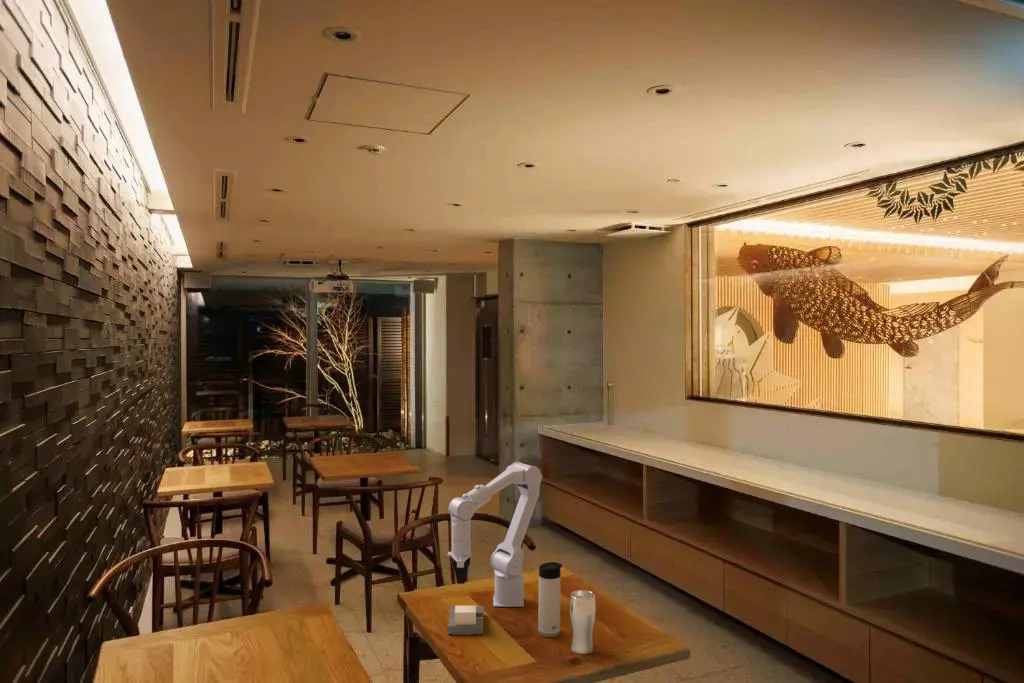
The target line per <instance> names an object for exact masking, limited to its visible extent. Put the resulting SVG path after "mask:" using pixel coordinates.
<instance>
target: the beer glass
mask: <svg viewBox="0 0 1024 683" xmlns="http://www.w3.org/2000/svg"><path fill="white" fill-rule="evenodd" d="M596 608H597V607H596V594H595V593H594V592H593V591H589V590H584V589H582V590H581V589H578V590H574V591H572V592H571V593H570V601H569V615H570V616H569V618H570V624H571V632H572V640H571V645H570V650H571V651H572V652H573V653H575V654H579V655H588V653H589V654H591V653H592V652H593V651H594V644H593V632H594V627H595V626H594V625H595V619H596V611H597V610H596Z"/></svg>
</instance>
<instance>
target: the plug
mask: <svg viewBox="0 0 1024 683" xmlns="http://www.w3.org/2000/svg"><path fill="white" fill-rule="evenodd" d="M454 606H455V625H470V624H476V617H483V613H476V606H477V605H454Z"/></svg>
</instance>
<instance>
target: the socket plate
mask: <svg viewBox="0 0 1024 683" xmlns="http://www.w3.org/2000/svg"><path fill="white" fill-rule="evenodd" d="M455 606H456V605H450V608H449V617H448V624H447V635H448V636H450V635H449V634H453V635H452V636H472V635H471V634H483V635H484V620H483V619H484V614H485V612H484V610H485V608H484V605H475V606H476V613H483V617H476V624H470V625H455Z"/></svg>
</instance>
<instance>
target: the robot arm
mask: <svg viewBox="0 0 1024 683" xmlns="http://www.w3.org/2000/svg"><path fill="white" fill-rule="evenodd" d="M542 480H543V475H542V472H541V470H540V468H538V466H534V465H530V464H525V463H522V462H520V461H515V462H513V463H511V465H508V466H507V467H506V469H505V470H503V472H501V473H500V474H499V475H498V476H496V477H495V478H494V479H492V480H491V481H489V483H487V484H486V485H484V484H476V485H475V486H474V487H473V489H471V490H470V491H468V492H467V493H463V494H462V496H461V497H457V496H456V497H455V498H453V499H452V500H451V501H450V502H449V505H448V507H447V513H448V514H449V515H450V520H451V551H448V552H447V556H448V557H451V562H450V564H451V565H452V568H453V570H454V572H455V573H454V574H455V579H456V584H457V585H459V584H460V585H461V584H462V585H464V584H465V583H466V579H467V578H466V577H467V572H468V569H469V567H470V565H471V556H472V552H471V540H472V539H471V519H472V518H473V516H474V515H475V512H476V511H477V510H479V508H481V507H483V506H484V505H486V504H487V503H488V502H490V501H491V500H492V499H491V498H492V495H494V494H496V493H498V492H500V491H501V490H503V489H504V488H506V487H508V486H509V485H511V484H514V485H515V486H516V487H517V488H518V490H519V493H520V496H519V499H518V502H517V505H516V508H515V511H514V513H513V516H512V519H511V522H510V524H509V528H508V529H507V533H506V535H505V538H504V541H502V542H501V543H499V544H497V546H496V549H495V550H494V552H493V553H492V554H491V557H490V562H489V563H490V566H491V567H492V569H493V573H494V595H493V596H492V598H493V599H492V600H493V601H492V602H493V603H492V604H493V606H492V607H494V608H500V607H501V608H502V607H503V608H504V607H505V608H511V607H515V608H517V607H519V608H520V607H524V606H525V605H524V604H525V602H524V599H525V595H526V594H525V576H524V574H522V573H521V572H522V570H523V560H524V557H525V555H524V552H523V551H522V544H523V541H524V539H525V536H526V532H527V531H528V527H529V525H530V523H531V522H530V521H531V518H532V517H533V516H532V515H533V513H534V510H535V507H536V504H537V502H538V498H539V496H540V486H541V483H542Z"/></svg>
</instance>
